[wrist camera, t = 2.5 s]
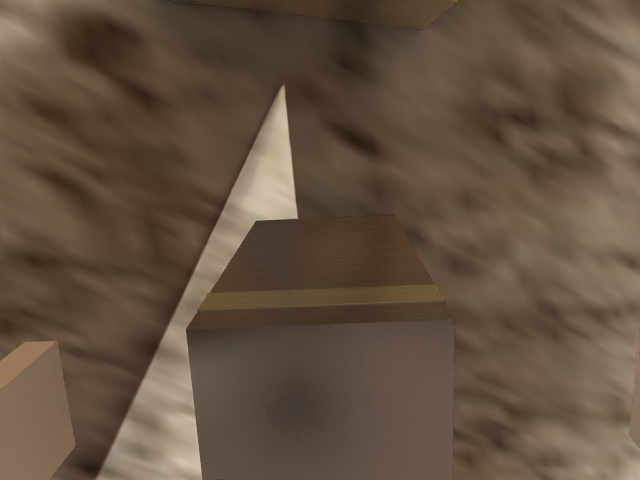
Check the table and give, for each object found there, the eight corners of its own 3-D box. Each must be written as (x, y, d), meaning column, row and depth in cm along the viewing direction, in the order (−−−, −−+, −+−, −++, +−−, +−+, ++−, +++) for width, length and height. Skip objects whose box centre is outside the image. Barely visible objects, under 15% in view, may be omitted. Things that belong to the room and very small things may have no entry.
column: (265, 349, 21) (210, 553, 12) (255, 220, 20) (184, 328, 10) (397, 344, 21) (452, 548, 11) (395, 214, 20) (455, 318, 10)
